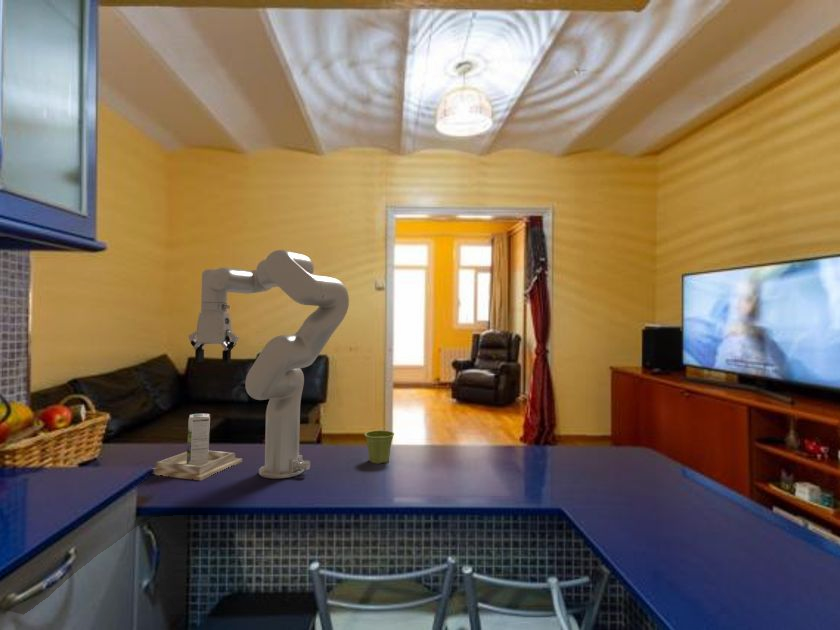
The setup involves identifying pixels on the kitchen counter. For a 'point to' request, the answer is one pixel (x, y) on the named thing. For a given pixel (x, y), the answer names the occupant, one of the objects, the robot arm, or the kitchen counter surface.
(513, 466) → the kitchen counter surface
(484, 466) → the kitchen counter surface
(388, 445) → the plant pot
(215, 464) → the tray
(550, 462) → the kitchen counter surface
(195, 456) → the syrup box
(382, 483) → the kitchen counter surface
